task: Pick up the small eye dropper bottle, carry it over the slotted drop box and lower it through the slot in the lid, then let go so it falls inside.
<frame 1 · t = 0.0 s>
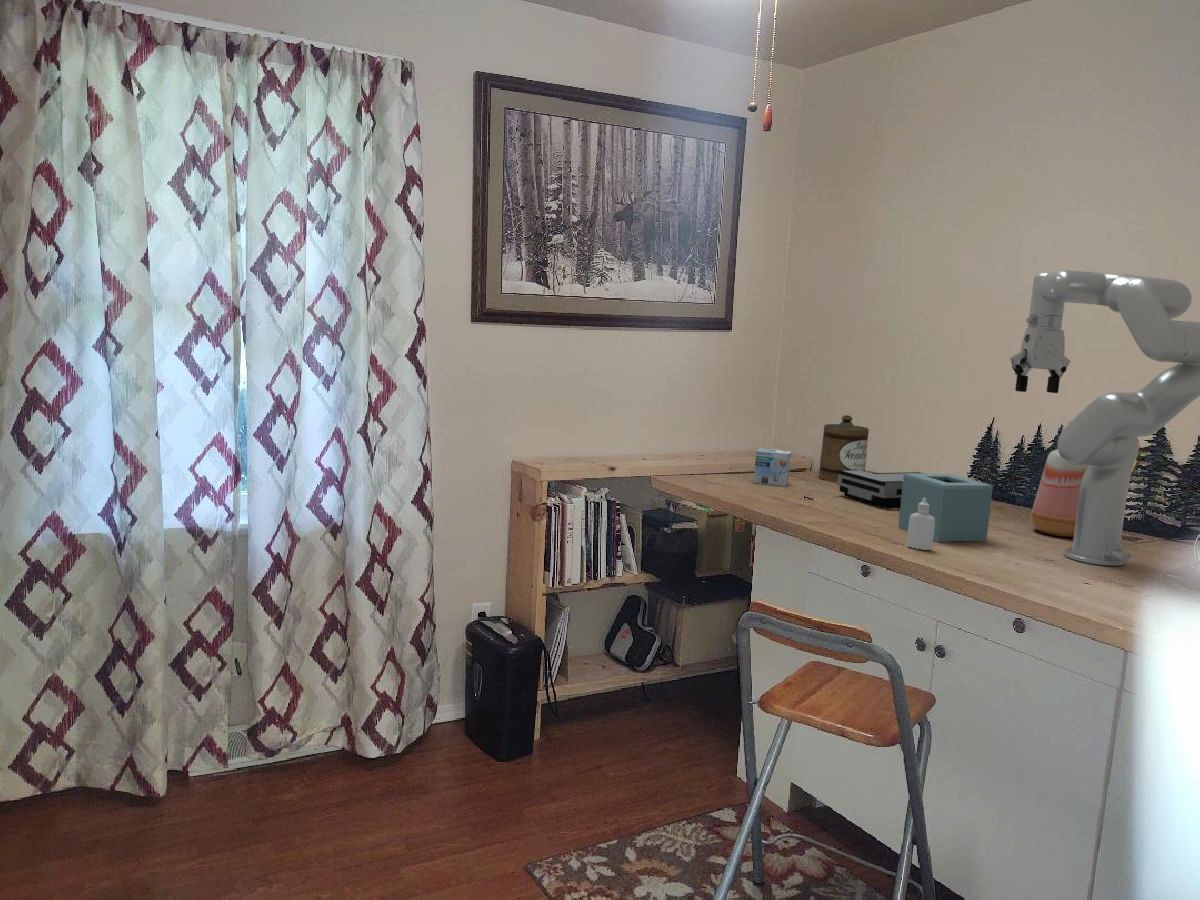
hand: (1036, 392, 225), 37 cm above the table, tool pointing down, fingers open, 9 cm apart
eye dropper bottle: (919, 549, 208), on the table
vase: (1059, 534, 234), on the table
drop box: (941, 534, 225), on the table
wooden container: (841, 480, 303), on the table
light bulb box: (770, 484, 287), on the table
game console: (900, 502, 269), on the table
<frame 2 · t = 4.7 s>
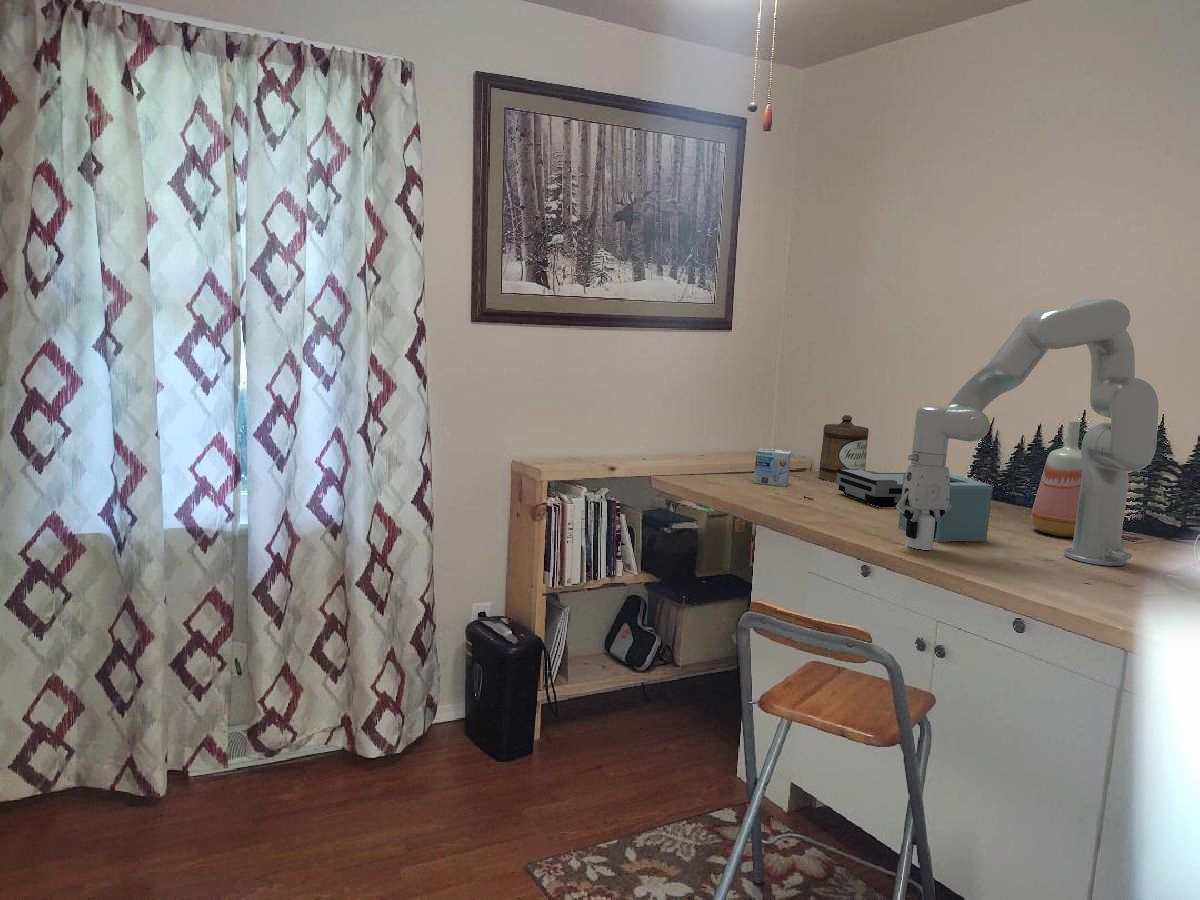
hand: (920, 536, 208), 3 cm above the table, tool pointing down, fingers closed on eye dropper bottle, 4 cm apart
eye dropper bottle: (919, 549, 208), on the table, touching gripper
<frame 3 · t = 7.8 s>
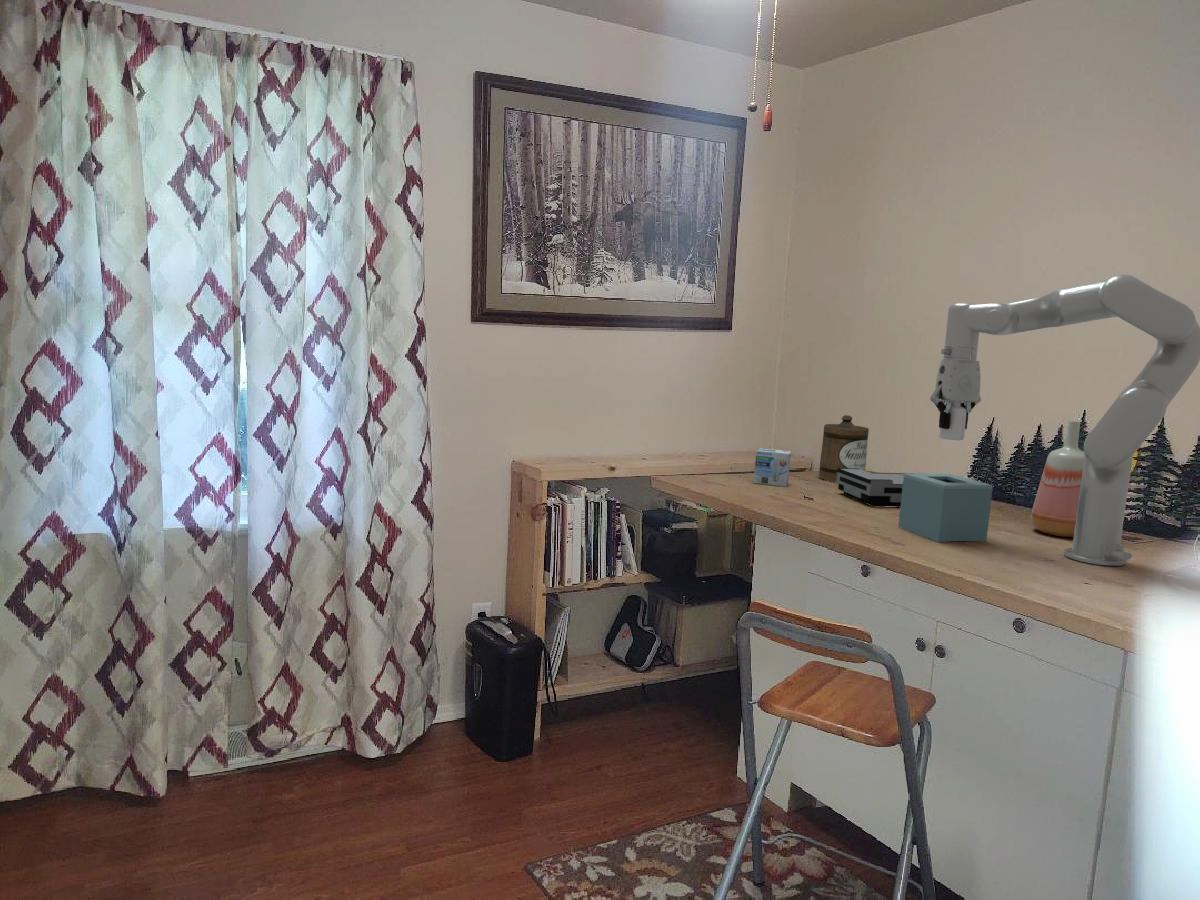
hand: (952, 427, 221), 27 cm above the table, tool pointing down, fingers closed on eye dropper bottle, 4 cm apart
eye dropper bottle: (951, 440, 221), point 24 cm above the table, touching gripper
when the fingers open (15 cm above the table, at t = 10.9 s): eye dropper bottle drops 10 cm, resting on drop box.
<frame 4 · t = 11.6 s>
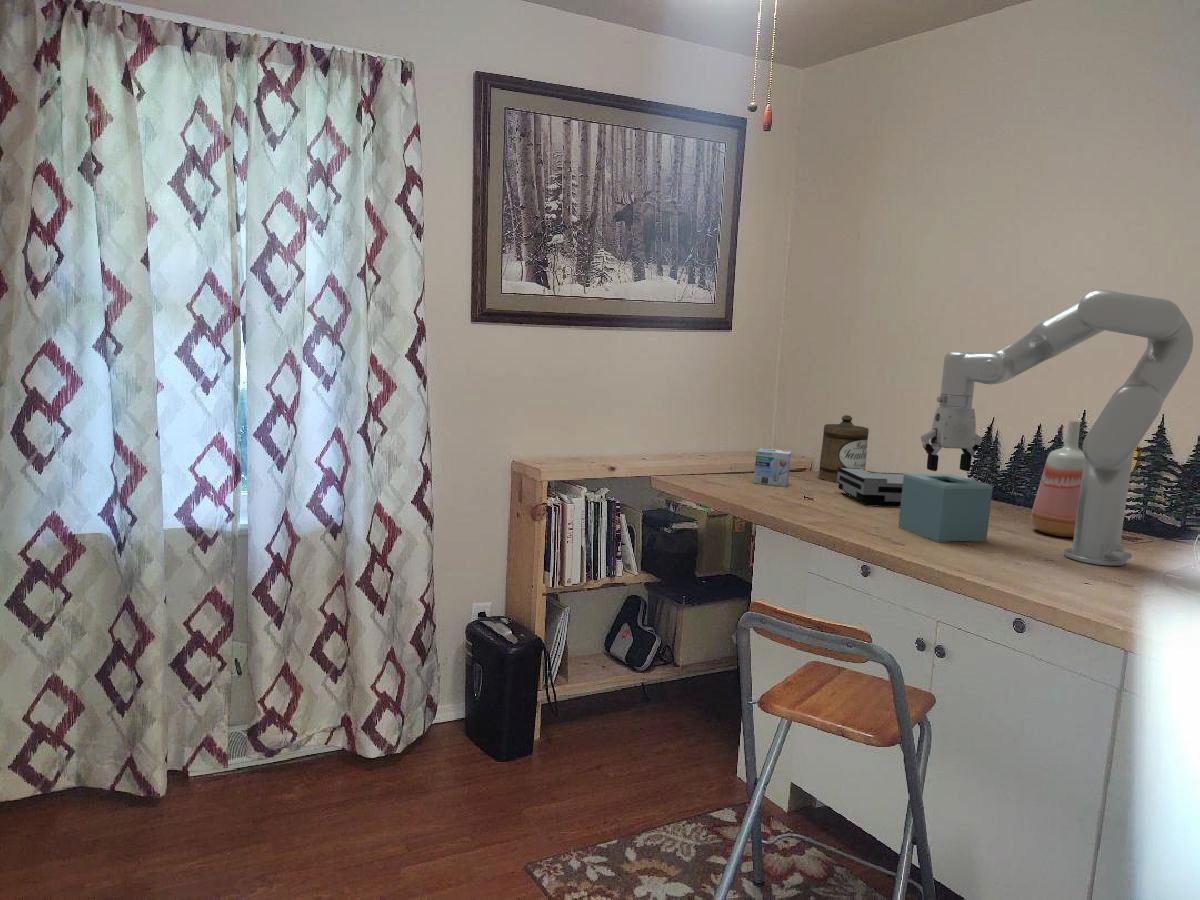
hand: (948, 470, 223), 16 cm above the table, tool pointing down, fingers open, 9 cm apart
eye dropper bottle: (943, 526, 224), point 2 cm above the table, touching drop box
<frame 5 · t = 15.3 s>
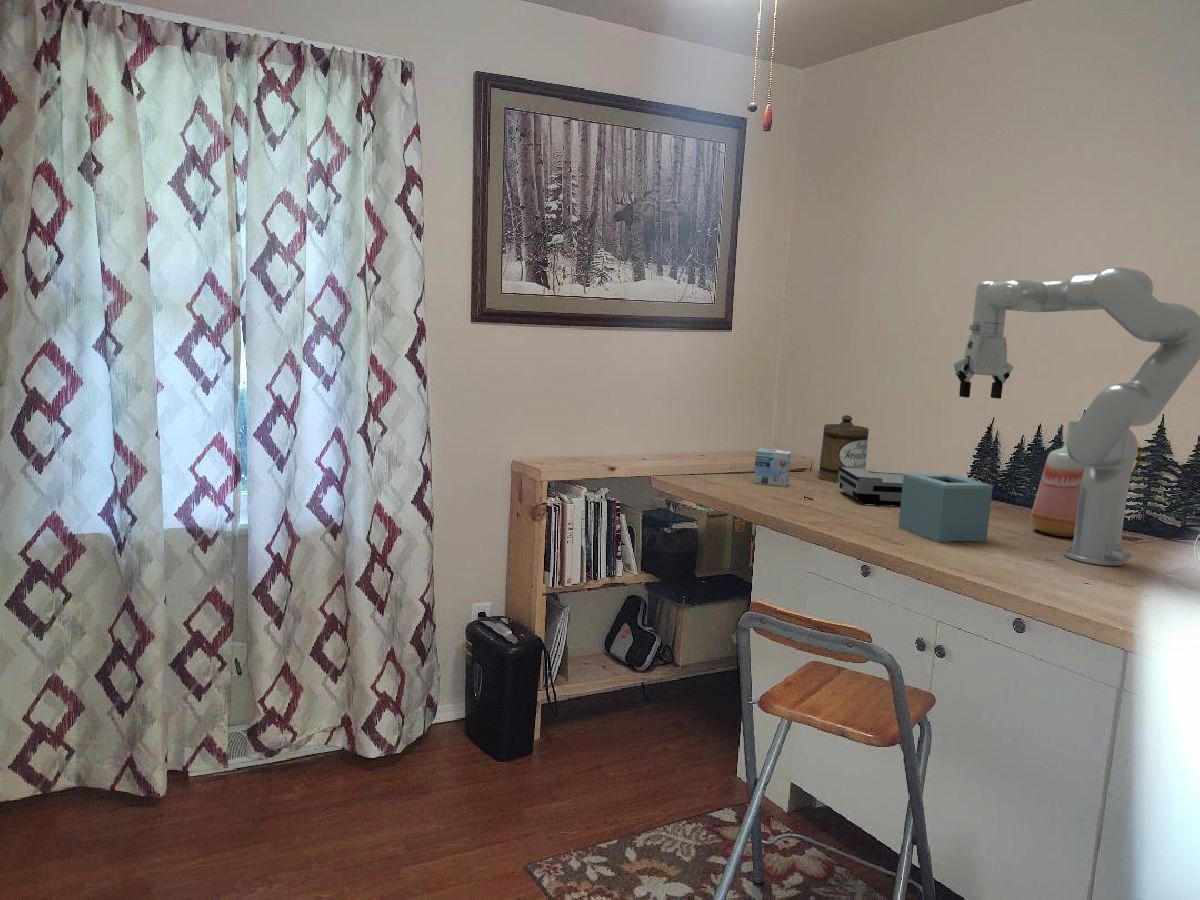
hand: (980, 397, 230), 34 cm above the table, tool pointing down, fingers open, 9 cm apart
at the end: eye dropper bottle inside the target area on the drop box (0.6 cm from its centre), point 2.0 cm above the drop box's base; the gripper is holding nothing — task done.
